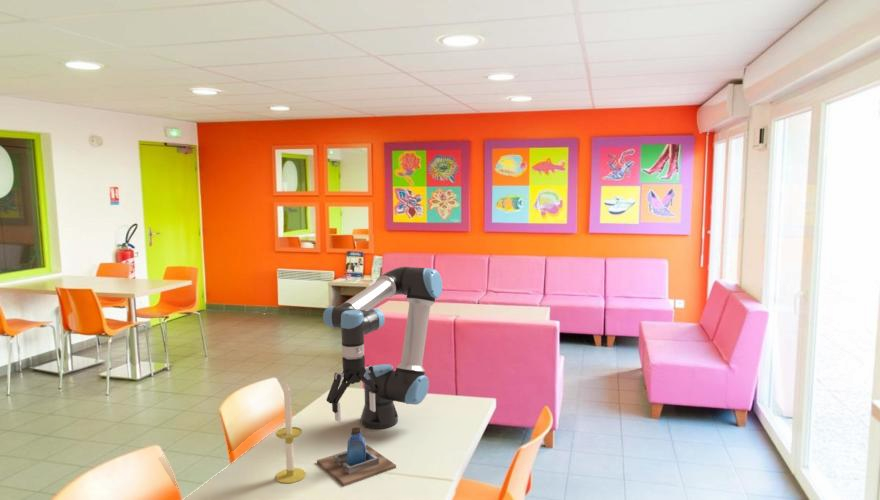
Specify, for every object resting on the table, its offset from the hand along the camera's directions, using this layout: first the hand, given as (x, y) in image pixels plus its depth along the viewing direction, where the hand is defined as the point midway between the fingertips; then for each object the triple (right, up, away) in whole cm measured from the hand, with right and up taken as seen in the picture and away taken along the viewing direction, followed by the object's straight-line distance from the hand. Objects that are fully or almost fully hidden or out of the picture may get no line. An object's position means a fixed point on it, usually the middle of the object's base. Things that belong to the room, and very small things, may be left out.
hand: (355, 415), depth 202 cm
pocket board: (0, -18, +2) cm, 18 cm away
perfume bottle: (0, -17, +2) cm, 17 cm away
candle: (-21, -19, -5) cm, 29 cm away
